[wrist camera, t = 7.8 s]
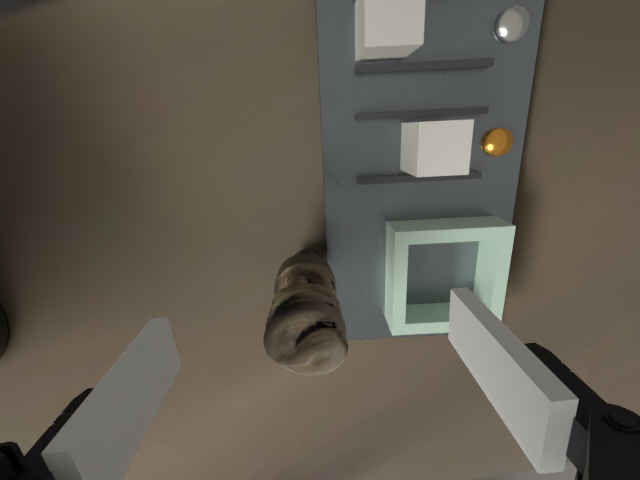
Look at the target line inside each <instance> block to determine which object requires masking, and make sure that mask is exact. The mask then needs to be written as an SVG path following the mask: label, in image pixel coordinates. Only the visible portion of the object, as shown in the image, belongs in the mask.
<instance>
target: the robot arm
mask: <svg viewBox="0 0 640 480" xmlns="http://www.w3.org/2000/svg"><path fill="white" fill-rule="evenodd" d="M448 339H449V341H450V342H451V344H452V345H453V347H454V348H455V350H456V351H457V353H458V354H459V356H460V357H461V359H462V360H463V362H464V363H465V365H466V366H467V368H468V369H469V371H470V372H471V374H472V375H473V377H474V378H475V380H476V381H477V383H478V384H479V386H480V387H481V389H482V390H483V392H484V393H485V394H486V396H487V397H488V399H489V400H490V402H491V403H492V405H493V406H494V408H495V409H496V411H497V412H498V414H499V415H500V417H501V418H502V420H503V421H504V423H505V424H506V426H507V427H508V429H509V430H510V432H511V433H512V435H513V436H514V438H515V439H516V441H517V442H518V444H519V445H520V447H521V448H522V450H523V451H524V453H525V454H526V456H527V457H528V459H529V460H530V462H531V463H532V465H533V466H534V468H535V469H536V471H537V472H538V473H539V474H541V473H551V472H561V471H564V468H565V463H566V458H567V457H568V458H569V459H570V461H571V462H572V463H573V464H574V466H575V467H576V468H577V473H576V477H575V480H640V416H639V415H637V414H636V413H634V412H633V411H630V410H628V409H626V408H623V407H621V406H617V405H613V404H607V403H606V402H605V401H604V400H603V399H602V398H600V397H599V396H598V395H597V394H596V393H595V392H594V391H593V390H592V389H591V388H590V387H589V386H587V385H586V384H585V383H584V382H583V381H582V380H581V379H580V378H579V377H578V376H577V375H576V374H574V373H573V372H571V371H570V369H569V368H568V367H567V366H566V365H565V364H564V363H561V361H560V360H559V359H558V358H557V357H556V356H555V355H554V354H553V353H552V352H551V351H549V350H547V349H545V348H544V347H542V346H540V345H538V344H536V343H528V344H523V343H522V342H521V341H520V340H519V339H518V338H517V337H516V336H515V335H514V334H513V333H512V332H511V331H510V330H509V329H508V328H507V327H506V326H505V325H504V324H503V323H502V322H501V321H500V320H499V319H498V318H497V317H496V316H495V315H494V314H493V313H492V312H491V311H490V310H489V309H488V308H487V307H486V306H485V305H484V304H483V303H482V302H481V301H480V300H479V299H478V298H477V297H476V296H475V295H474V294H473V293H472V292H471V291H470V290H469V289H468V288H467V287H463V288H453V289H451V291H450V314H449V337H448ZM7 341H8V326H7V321H6V318H5V315H4V313H3V310H2V308H1V306H0V357H1V355H2V354H3V352H4V350H5V348H6V345H7ZM180 367H181V363H180V359H179V356H178V352H177V349H176V345H175V341H174V338H173V334H172V331H171V327H170V324H169V320H168V317H161V318H151V319H150V320H149V322H148V323H147V324H146V325H145V327H144V328H143V329H142V330H141V331H140V333H139V334H138V335H137V336H136V338H135V339H134V340H133V341H132V342H131V344H130V345H129V346H128V347H127V349H126V350H125V351H124V352H123V354H122V355H121V356H120V357H119V358H118V360H117V361H116V362H115V363H114V365H113V366H112V367H111V368H110V369H109V371H108V372H107V373H106V374H105V376H104V377H103V378H102V379H101V380H100V382H99V383H98V384H97V385H96V387H95V388H89V389H86V390H85V391H84V392H82V393H81V394H80V395H78V396H77V397H76V398H75V399H73V400H72V401H71V402H70V404H69V405H68V406H67V407H66V408H65V409H64V411H63V412H62V414H61V415H59V416H58V418H57V419H56V420H55V421H54V422H53V425H52V426H50V427H49V428H48V429H47V430H46V431H45V433H44V434H43V435H42V436H41V437H40V438H39V440H38V441H37V442H36V443H35V444H34V445H33V447H32V448H31V449H30V450H29V451H28V452H27V454H26V455H25V456H24V455H23V454H22V452H21V450H20V448H19V446H18V444H17V443H15V442H5V443H0V480H121V479H122V477H123V475H124V473H125V472H126V470H127V468H128V466H129V464H130V462H131V460H132V458H133V456H134V454H135V453H136V451H137V449H138V447H139V445H140V443H141V441H142V439H143V437H144V436H145V434H146V432H147V430H148V428H149V426H150V424H151V422H152V420H153V418H154V417H155V415H156V413H157V411H158V409H159V407H160V405H161V403H162V401H163V399H164V398H165V396H166V394H167V392H168V390H169V388H170V386H171V384H172V382H173V381H174V379H175V377H176V375H177V373H178V371H179V369H180Z"/></svg>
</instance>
